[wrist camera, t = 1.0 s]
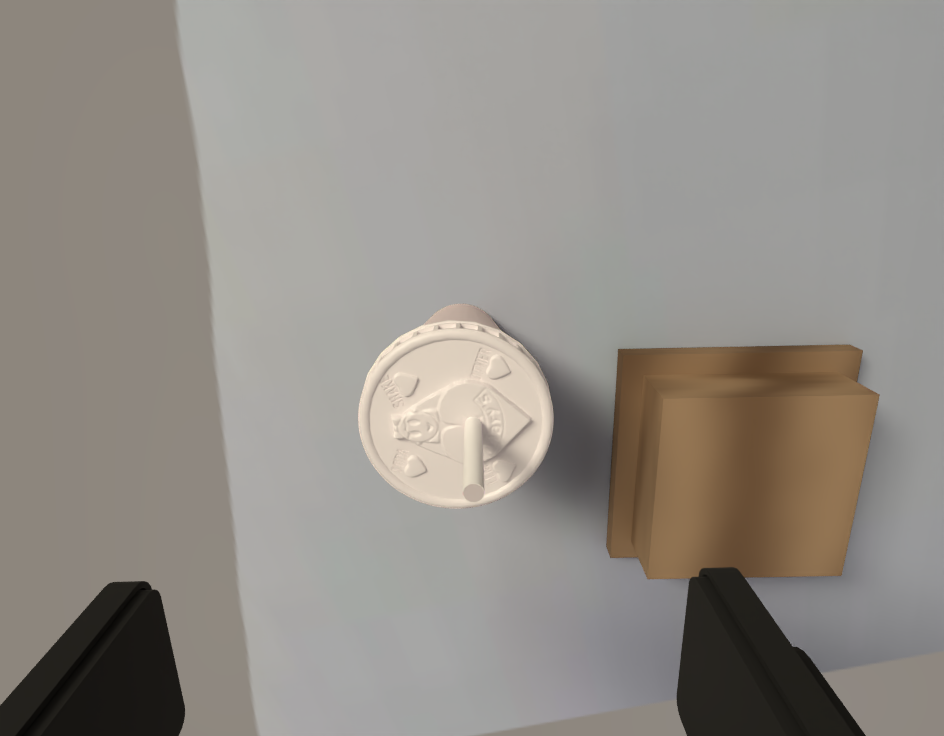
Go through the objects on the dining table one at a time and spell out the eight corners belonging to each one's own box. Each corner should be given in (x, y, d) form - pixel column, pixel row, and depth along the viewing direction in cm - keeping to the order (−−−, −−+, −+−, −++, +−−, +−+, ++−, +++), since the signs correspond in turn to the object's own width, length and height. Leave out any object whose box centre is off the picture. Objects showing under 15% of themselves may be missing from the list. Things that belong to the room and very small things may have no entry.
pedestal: (849, 344, 28) (908, 371, 24) (812, 542, 32) (859, 593, 28) (618, 349, 28) (641, 376, 24) (606, 546, 32) (624, 597, 28)
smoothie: (530, 400, 29) (581, 593, 16) (400, 408, 29) (341, 607, 16) (525, 269, 27) (578, 364, 14) (385, 279, 27) (304, 382, 14)
